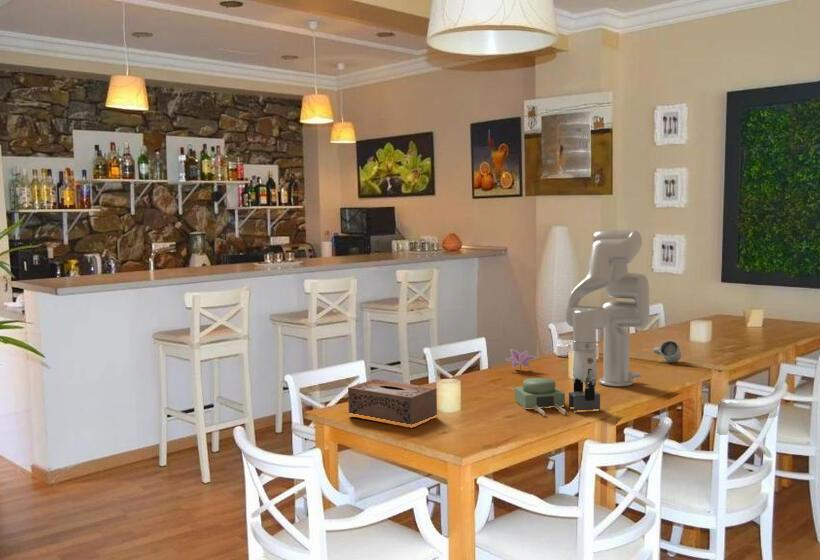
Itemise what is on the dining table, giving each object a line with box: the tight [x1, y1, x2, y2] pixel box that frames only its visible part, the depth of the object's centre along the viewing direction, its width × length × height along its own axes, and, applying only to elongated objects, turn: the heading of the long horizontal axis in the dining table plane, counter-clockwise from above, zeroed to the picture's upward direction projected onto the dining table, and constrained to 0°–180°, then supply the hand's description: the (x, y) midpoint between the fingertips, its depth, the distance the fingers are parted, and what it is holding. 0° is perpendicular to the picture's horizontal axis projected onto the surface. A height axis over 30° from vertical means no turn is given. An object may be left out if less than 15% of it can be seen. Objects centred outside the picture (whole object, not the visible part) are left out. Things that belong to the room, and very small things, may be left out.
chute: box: [568, 390, 601, 412], centre depth 255 cm, size 5×9×6 cm, turn 99°
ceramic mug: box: [653, 340, 682, 364], centre depth 326 cm, size 11×8×8 cm
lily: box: [505, 348, 538, 374], centre depth 315 cm, size 12×12×10 cm
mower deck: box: [514, 377, 567, 415], centre depth 259 cm, size 14×21×8 cm, turn 9°
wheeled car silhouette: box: [555, 338, 600, 360], centre depth 339 cm, size 20×11×7 cm, turn 38°
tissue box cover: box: [347, 378, 438, 425], centre depth 252 cm, size 26×14×10 cm, turn 55°
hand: (583, 396), depth 254 cm, fingers open, 9 cm apart
